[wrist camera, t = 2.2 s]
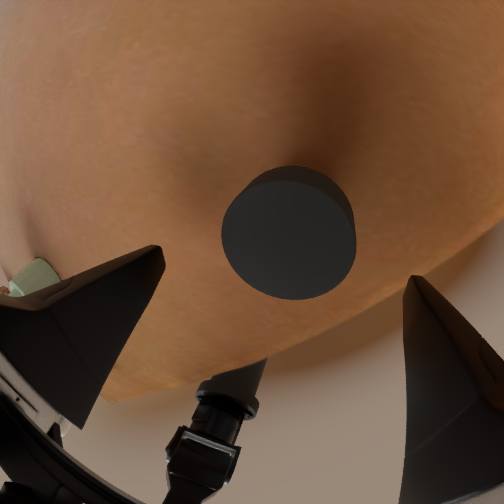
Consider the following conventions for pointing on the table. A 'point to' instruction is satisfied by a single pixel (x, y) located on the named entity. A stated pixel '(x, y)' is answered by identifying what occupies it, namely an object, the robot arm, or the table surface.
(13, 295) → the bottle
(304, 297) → the stopper
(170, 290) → the table surface
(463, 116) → the table surface
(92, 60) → the table surface
